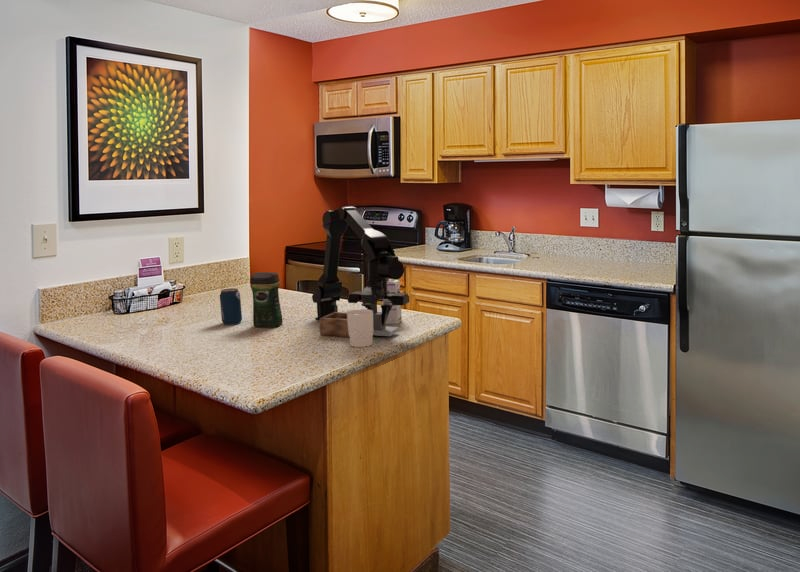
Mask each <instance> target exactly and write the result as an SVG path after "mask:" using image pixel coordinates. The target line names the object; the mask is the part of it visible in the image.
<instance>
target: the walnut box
mask: <svg viewBox="0 0 800 572" xmlns="http://www.w3.org/2000/svg"><path fill="white" fill-rule="evenodd" d="M319 331H320V336H321V337H333V336H335V338H347V337H349V331H348V323H347V311H346V312H343V311H342V312H341V311H338V312H333V313H331V314H328V315H326V316H324V317H322V318H320V320H319Z"/></svg>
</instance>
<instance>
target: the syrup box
mask: <svg viewBox="0 0 800 572" xmlns="http://www.w3.org/2000/svg"><path fill="white" fill-rule="evenodd" d="M387 291H389V294H388V296H392V295H394V294H396V293H401V284H400V279H397V280H395V279H390V278H389V281H388V282H387ZM380 304H381V305H383V304H384V303H383V301H380ZM381 305H380V306H381ZM380 308H381V307H380ZM381 310H382V308H381ZM401 321H402V305H393V306H392V308H391V310H390V312H389V315H388V317H387V320H386V323H385V325H398V324H399V323H400V322H401Z"/></svg>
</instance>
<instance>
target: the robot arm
mask: <svg viewBox="0 0 800 572" xmlns="http://www.w3.org/2000/svg"><path fill="white" fill-rule="evenodd" d="M348 226H349V227H350V229H351V230H352V231H353V232H354V233H355V234H356V235H357V237H359V239H360V241H361V243H360V245H361V247H362V249H363V251H364V252H365V253H366V256H365V257H364V259H363V260H364V261H367V272H368V279H367V280H366V286H365V287H364V288H363V290H361V291H357V290H355V291H353V292H351V293H349V294H348V296H347V302H348V304H357V303H359V301H361V306H362V307H364V308H365V309H369V310H373V314H375V313H377V312H378V302H381V301H383V303H384V304H383V305H380V308H382V309H381V312H382V326H384V325H385V326H386V324H385V323H386V320H387V317H388V315H389V312H390V310H391V308H392V306H393V305H401V306H405V305H406V304H409V303H410V295H409V294H408V292H407V293H406V292H405V293H404V292H400V293H396V294H394V295H392V296H388V294H389V291H387V282H388V281H389V279H395V280H400V279H401V278H402V277H403V275H404V273H405V267H404V264H403V263H402V261H401V260H399V256H397V254H396V253H395V249H394V248H393V247H392V244H391V242H390V239H389V237H388V236H387V235H386V234H384V233H383V232H381V231H379V230H376V229H374V228H373V227H372V226H371V225H370V224H369V223H368V222H367V220H365V218H364V217H363V216H362V215H361V214H360V213H359V212H358V210H357V207H355V206H342V207H341V208H340V207H339V208H338V209H334V210H326V211H325V212H323V215H322V228H323V230H324V232H325V234H326V240H325V249H324V250H325V251H324V261H323V271H322V274H321V275H320V277H319V278H318V279H317V284H316V287H315V290H314V292H313V294H312V295H311V298H312V302H313V303H316V312H317V313H316V314H317V316H316V317H315V320H319V321H320V318H322V317H324V316H326V315H328V314H331V313H333V312H339V309H338V308H339V307H338V305H337V301H339V302H340V300H341V294H342V286H343V282H342V281H341V280H340V279H339V276H338V272H339V271H338V270H339V261H340V252H341V243H342V237H343V236H344V234H345V233H346V231H347V229H348Z"/></svg>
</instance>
